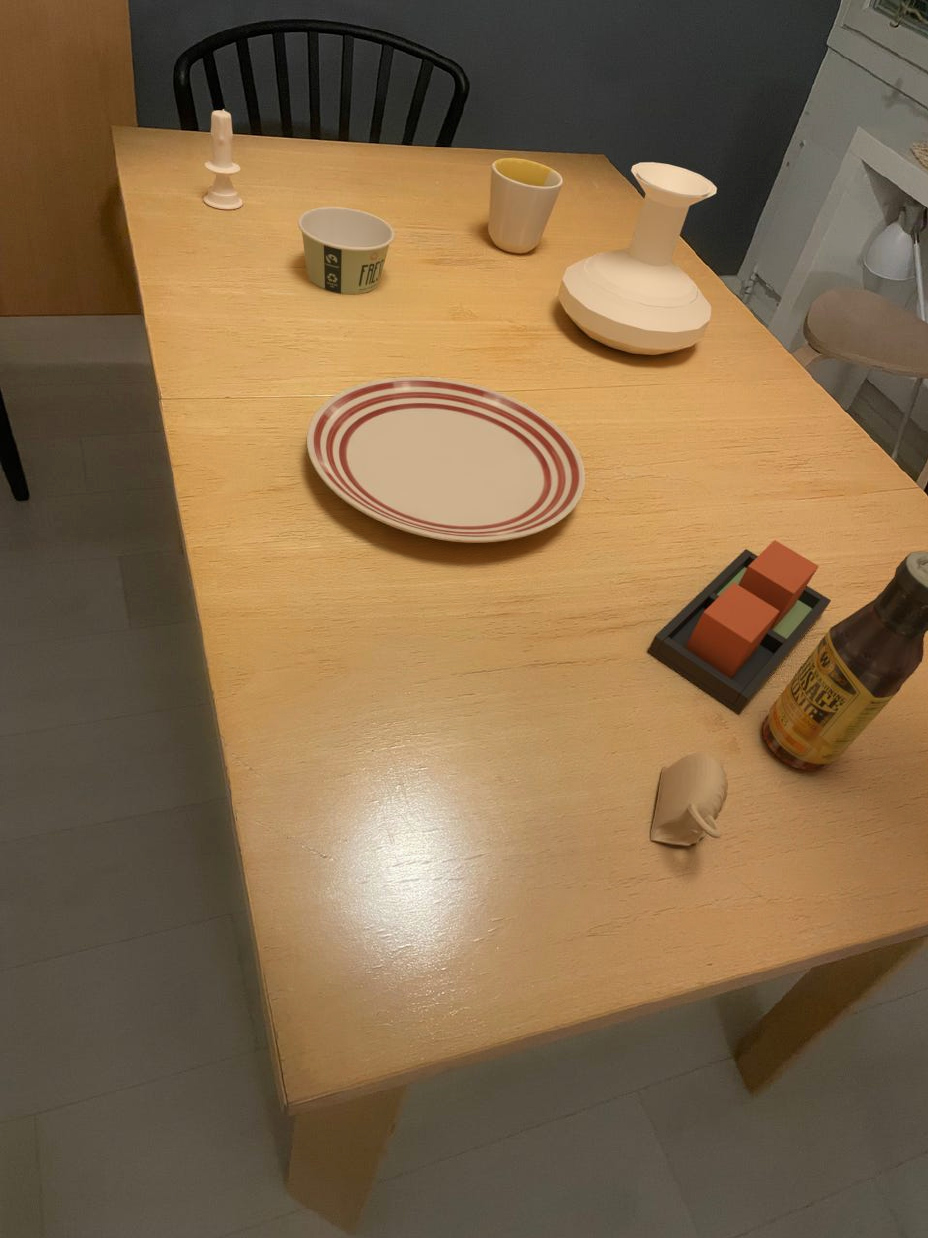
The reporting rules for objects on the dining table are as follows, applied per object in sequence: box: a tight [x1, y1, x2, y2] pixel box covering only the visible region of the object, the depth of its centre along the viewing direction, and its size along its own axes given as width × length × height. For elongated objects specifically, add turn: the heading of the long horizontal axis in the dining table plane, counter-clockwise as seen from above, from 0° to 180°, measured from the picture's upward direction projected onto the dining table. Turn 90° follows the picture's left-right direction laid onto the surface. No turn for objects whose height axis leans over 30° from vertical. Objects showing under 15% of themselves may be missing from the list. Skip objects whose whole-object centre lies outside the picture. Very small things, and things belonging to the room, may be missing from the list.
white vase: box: [557, 161, 718, 356], centre depth 110 cm, size 20×20×19 cm
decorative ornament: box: [650, 752, 729, 847], centre depth 62 cm, size 4×8×5 cm, turn 161°
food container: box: [297, 206, 396, 295], centre depth 111 cm, size 12×12×6 cm
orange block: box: [738, 539, 819, 630], centre depth 79 cm, size 4×6×5 cm
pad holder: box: [647, 548, 832, 715], centre depth 78 cm, size 9×17×2 cm, turn 140°
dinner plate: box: [306, 376, 586, 544], centre depth 86 cm, size 28×27×3 cm
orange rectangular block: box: [685, 583, 779, 679], centre depth 74 cm, size 4×6×5 cm
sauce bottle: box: [762, 550, 928, 772], centre depth 63 cm, size 7×6×20 cm
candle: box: [203, 108, 244, 211], centre depth 119 cm, size 5×5×12 cm
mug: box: [487, 157, 564, 255], centre depth 127 cm, size 14×10×10 cm
